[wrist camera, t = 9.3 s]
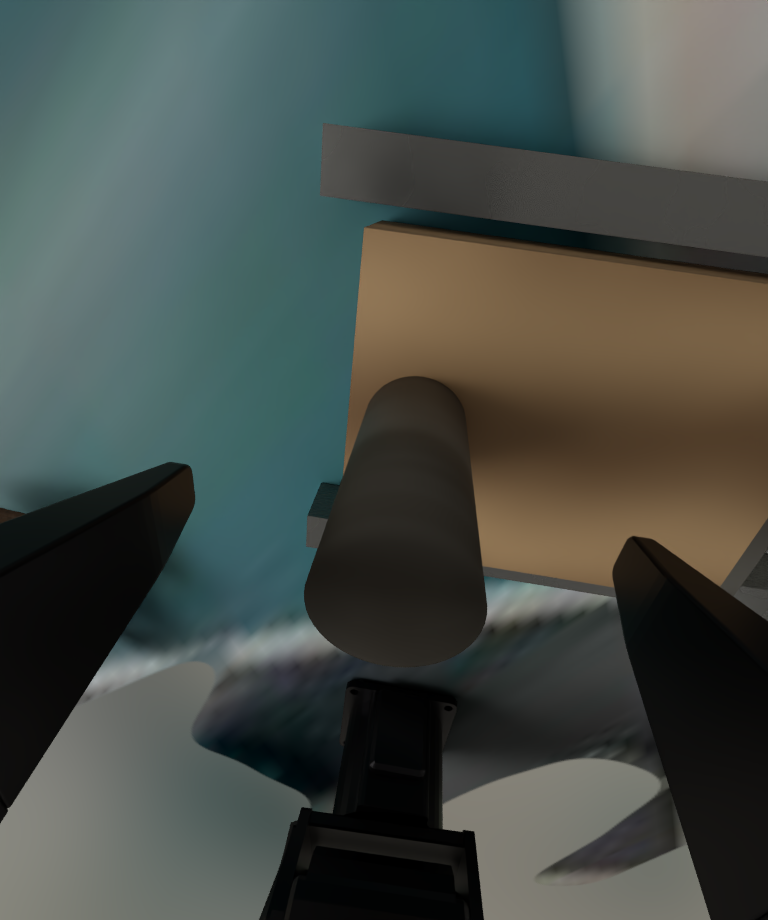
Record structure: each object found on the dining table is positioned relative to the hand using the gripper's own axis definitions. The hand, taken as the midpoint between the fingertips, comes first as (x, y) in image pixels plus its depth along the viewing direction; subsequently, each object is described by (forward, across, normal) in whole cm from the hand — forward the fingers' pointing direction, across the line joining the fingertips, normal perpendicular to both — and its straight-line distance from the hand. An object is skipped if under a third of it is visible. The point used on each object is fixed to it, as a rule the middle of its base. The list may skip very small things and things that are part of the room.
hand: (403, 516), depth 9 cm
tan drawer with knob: (+9, -4, 0) cm, 10 cm away
